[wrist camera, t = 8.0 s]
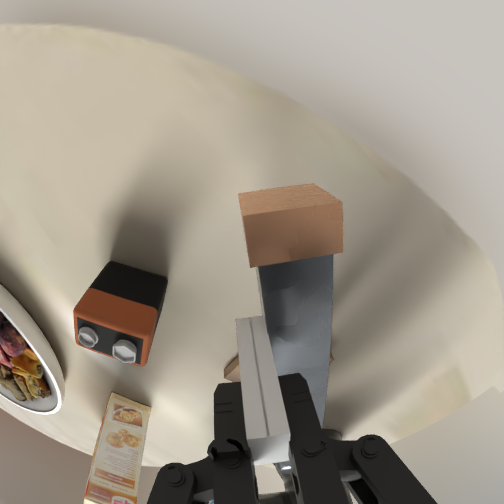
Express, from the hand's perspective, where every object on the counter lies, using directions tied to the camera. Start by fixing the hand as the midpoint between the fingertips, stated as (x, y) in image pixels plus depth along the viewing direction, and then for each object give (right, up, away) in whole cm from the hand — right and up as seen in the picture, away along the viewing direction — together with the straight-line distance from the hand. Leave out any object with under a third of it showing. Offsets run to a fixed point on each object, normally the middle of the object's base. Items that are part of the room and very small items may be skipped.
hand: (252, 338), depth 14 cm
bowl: (-42, -10, +16) cm, 46 cm away
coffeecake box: (-22, -25, +25) cm, 41 cm away
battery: (-12, +1, +14) cm, 19 cm away
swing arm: (+3, -5, +5) cm, 7 cm away
